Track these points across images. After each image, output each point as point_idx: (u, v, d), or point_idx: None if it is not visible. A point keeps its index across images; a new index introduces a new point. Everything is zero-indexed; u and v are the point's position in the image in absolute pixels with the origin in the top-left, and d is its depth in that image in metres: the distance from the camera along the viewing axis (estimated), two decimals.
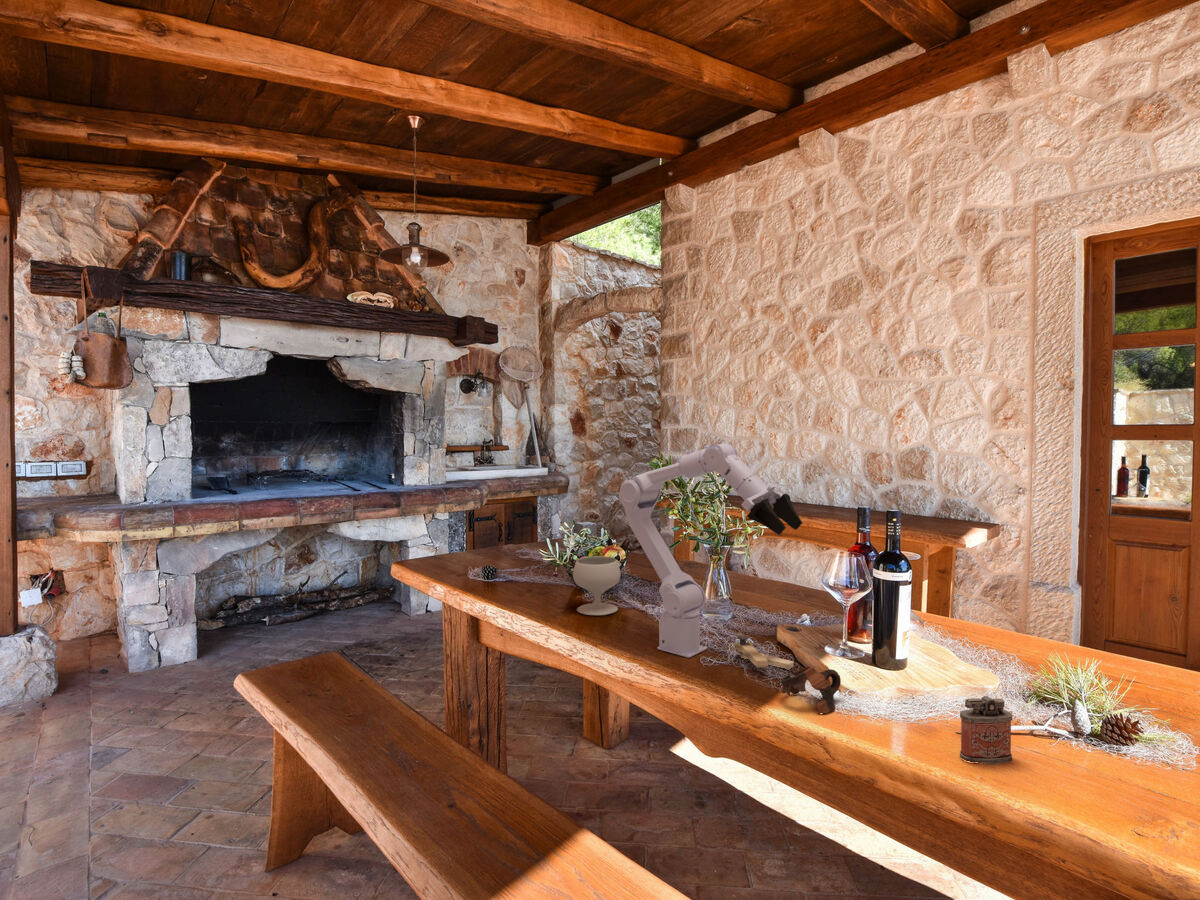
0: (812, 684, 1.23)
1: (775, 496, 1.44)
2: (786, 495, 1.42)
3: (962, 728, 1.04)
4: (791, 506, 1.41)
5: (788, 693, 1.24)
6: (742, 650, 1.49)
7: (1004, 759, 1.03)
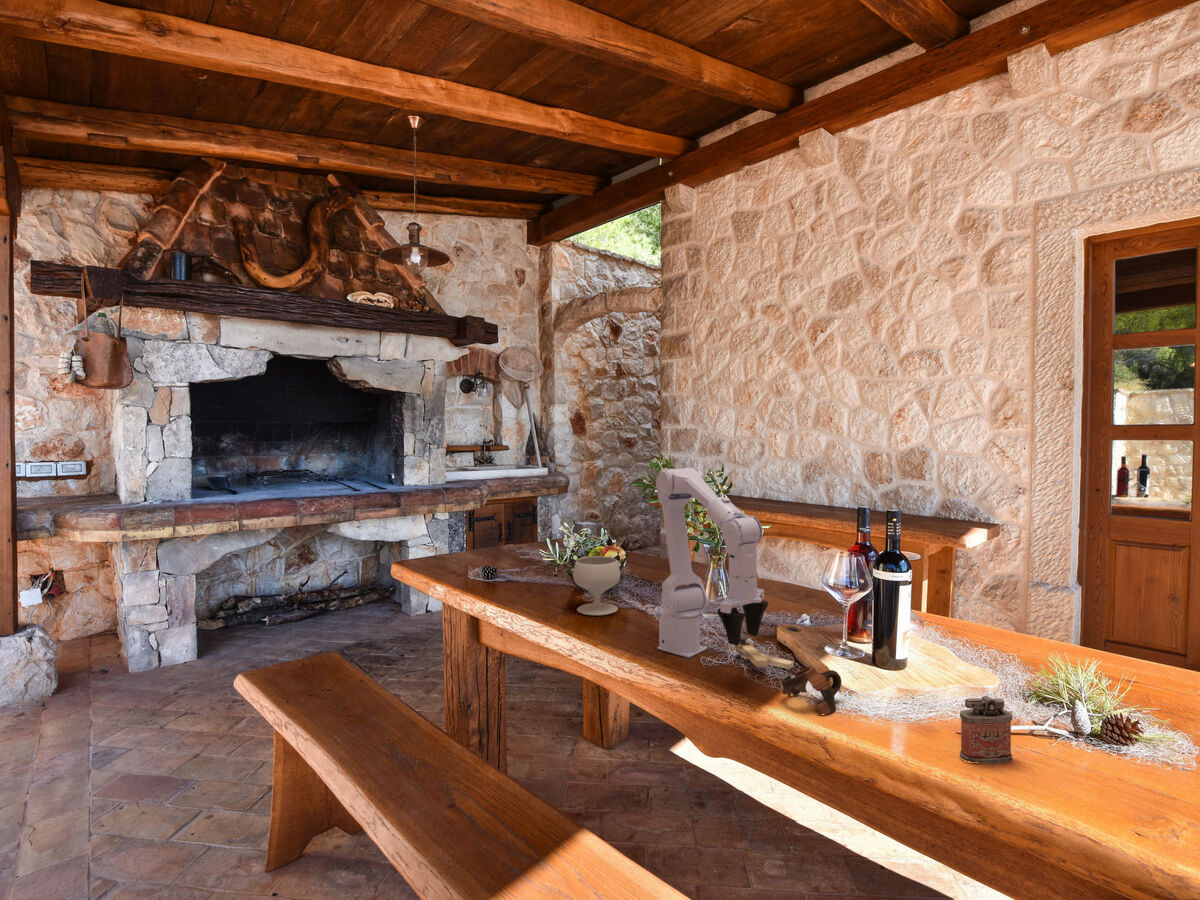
0: (813, 685, 1.22)
1: None
2: (765, 605, 1.37)
3: (962, 728, 1.04)
4: (761, 616, 1.38)
5: (789, 694, 1.24)
6: (742, 650, 1.49)
7: (1004, 759, 1.03)
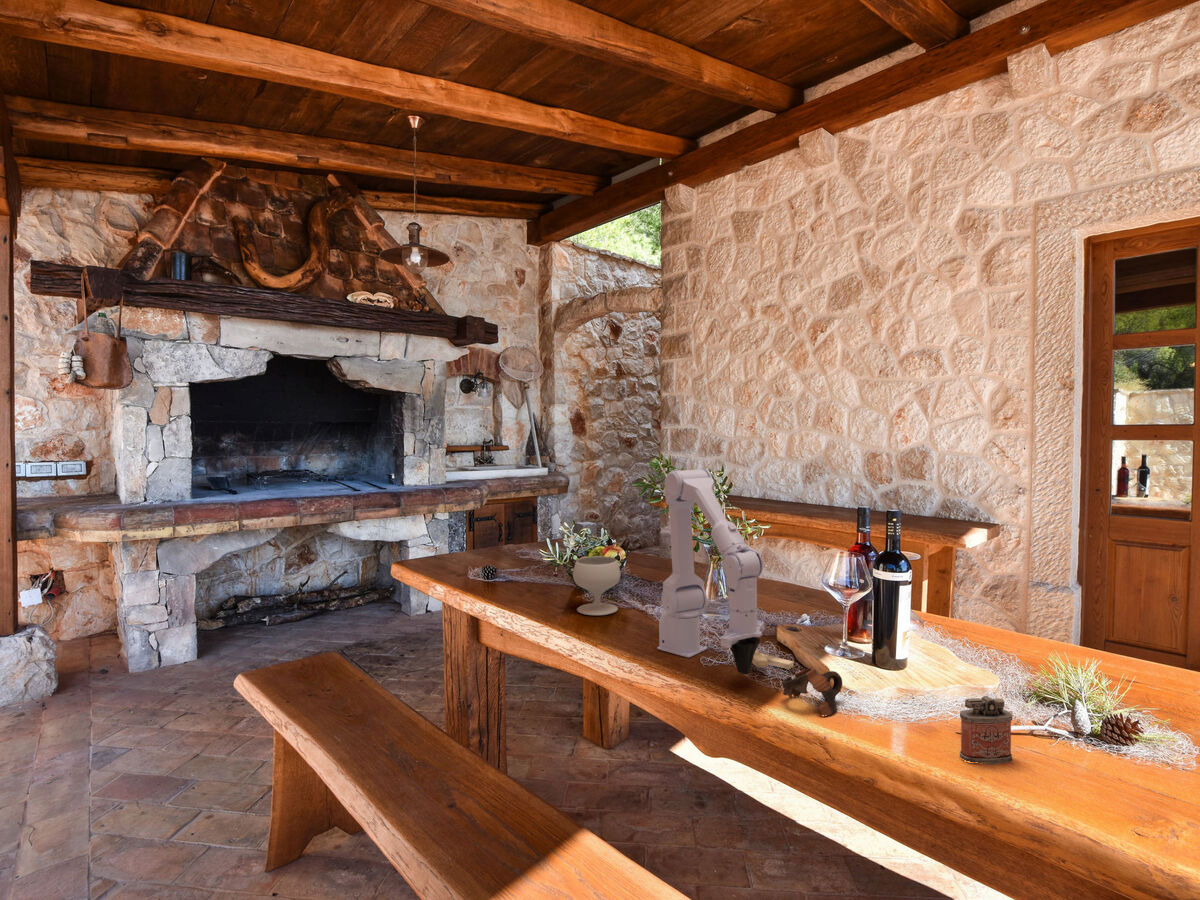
0: (814, 686, 1.22)
1: None
2: (757, 642, 1.35)
3: (962, 728, 1.04)
4: (753, 653, 1.36)
5: (790, 695, 1.23)
6: None
7: (1004, 759, 1.03)
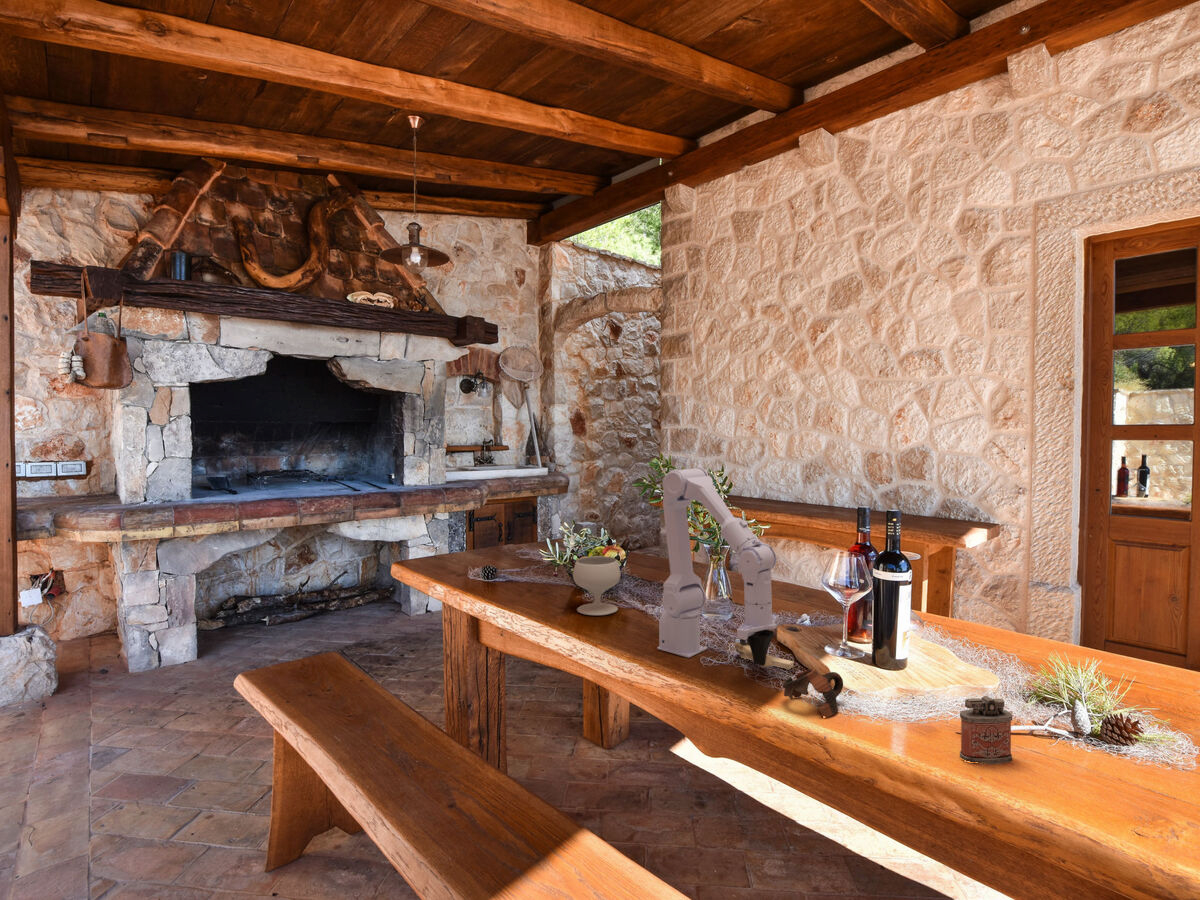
0: (815, 687, 1.21)
1: None
2: (771, 635, 1.38)
3: (962, 728, 1.04)
4: (767, 646, 1.39)
5: (790, 696, 1.23)
6: (743, 650, 1.48)
7: (1004, 759, 1.03)
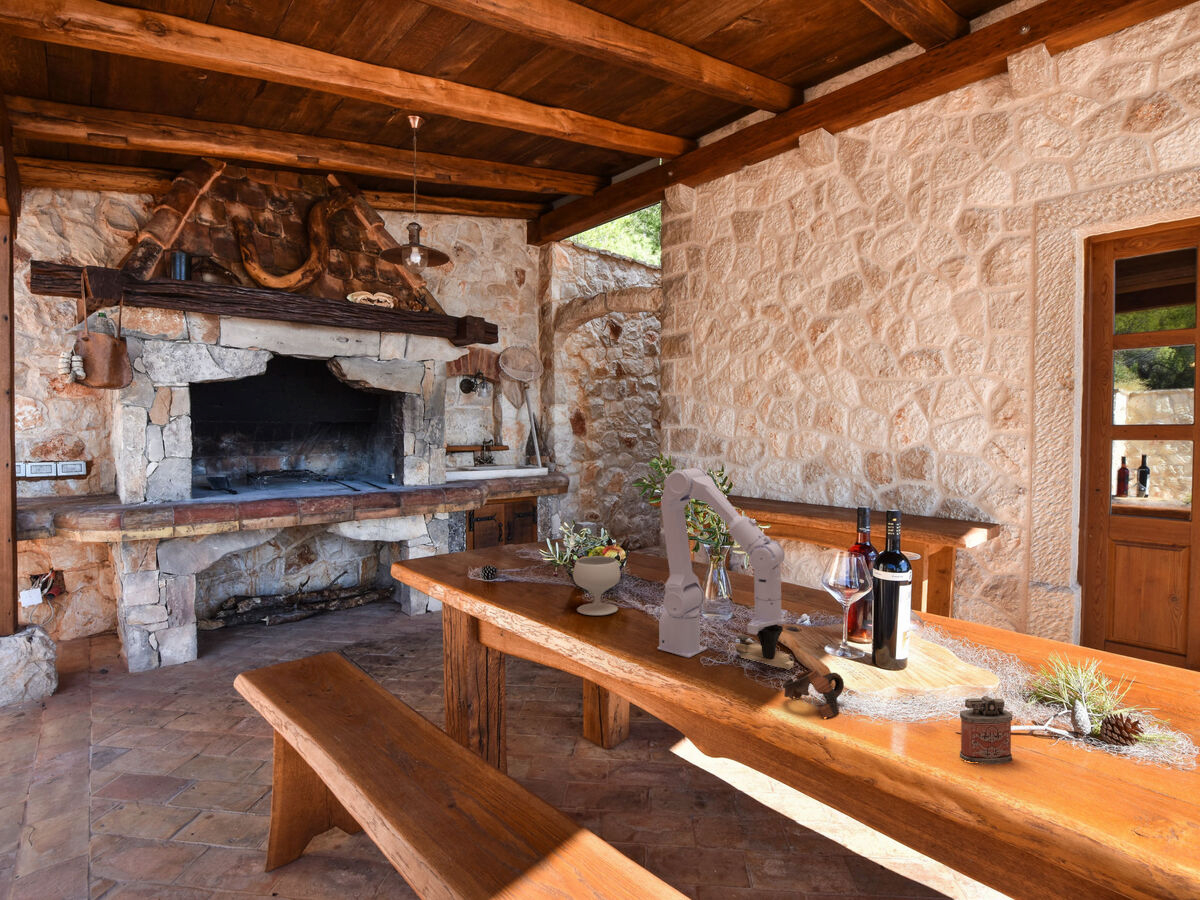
0: (815, 688, 1.21)
1: None
2: (780, 630, 1.42)
3: (962, 728, 1.04)
4: (776, 640, 1.42)
5: (791, 697, 1.22)
6: (749, 650, 1.49)
7: (1004, 759, 1.03)
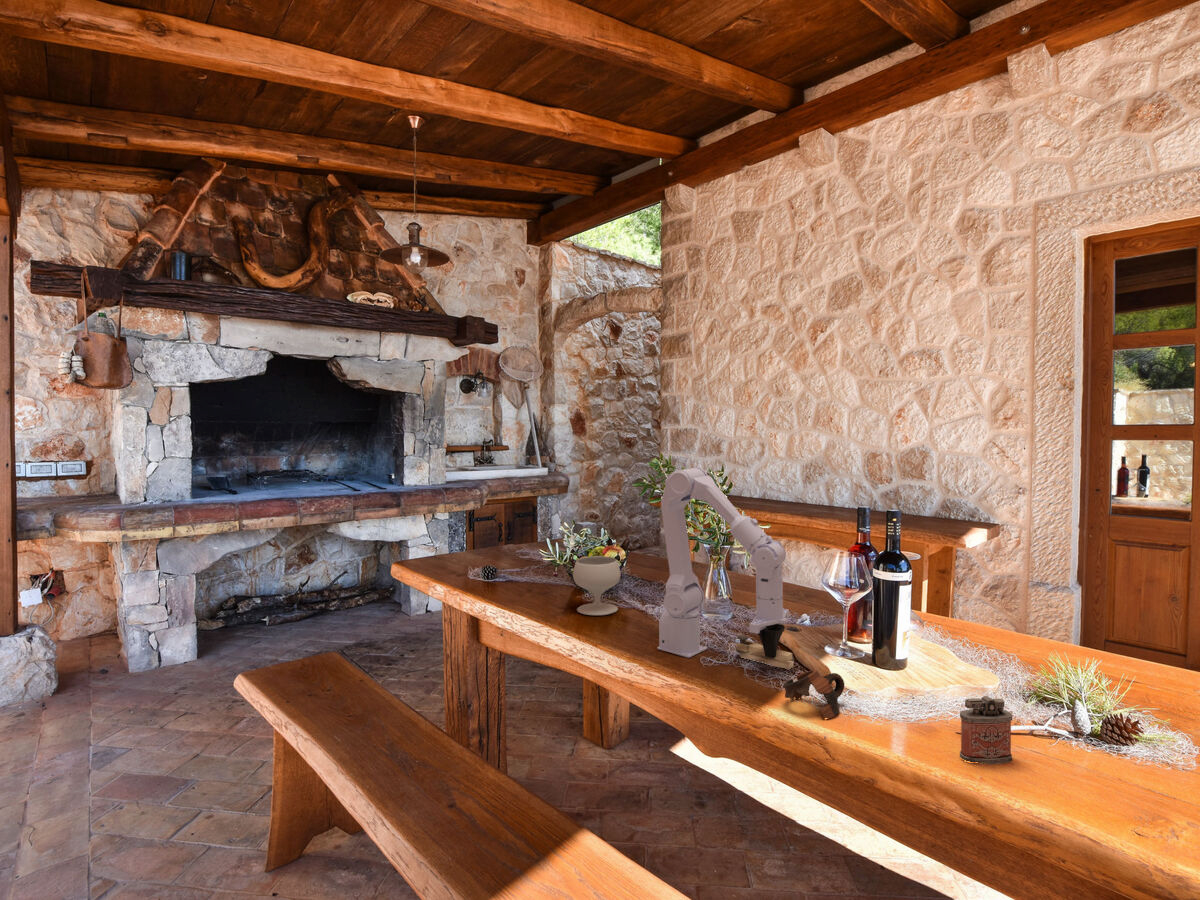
0: (816, 688, 1.21)
1: None
2: (782, 629, 1.43)
3: (962, 728, 1.04)
4: (778, 639, 1.43)
5: (792, 698, 1.22)
6: (751, 650, 1.49)
7: (1004, 759, 1.03)
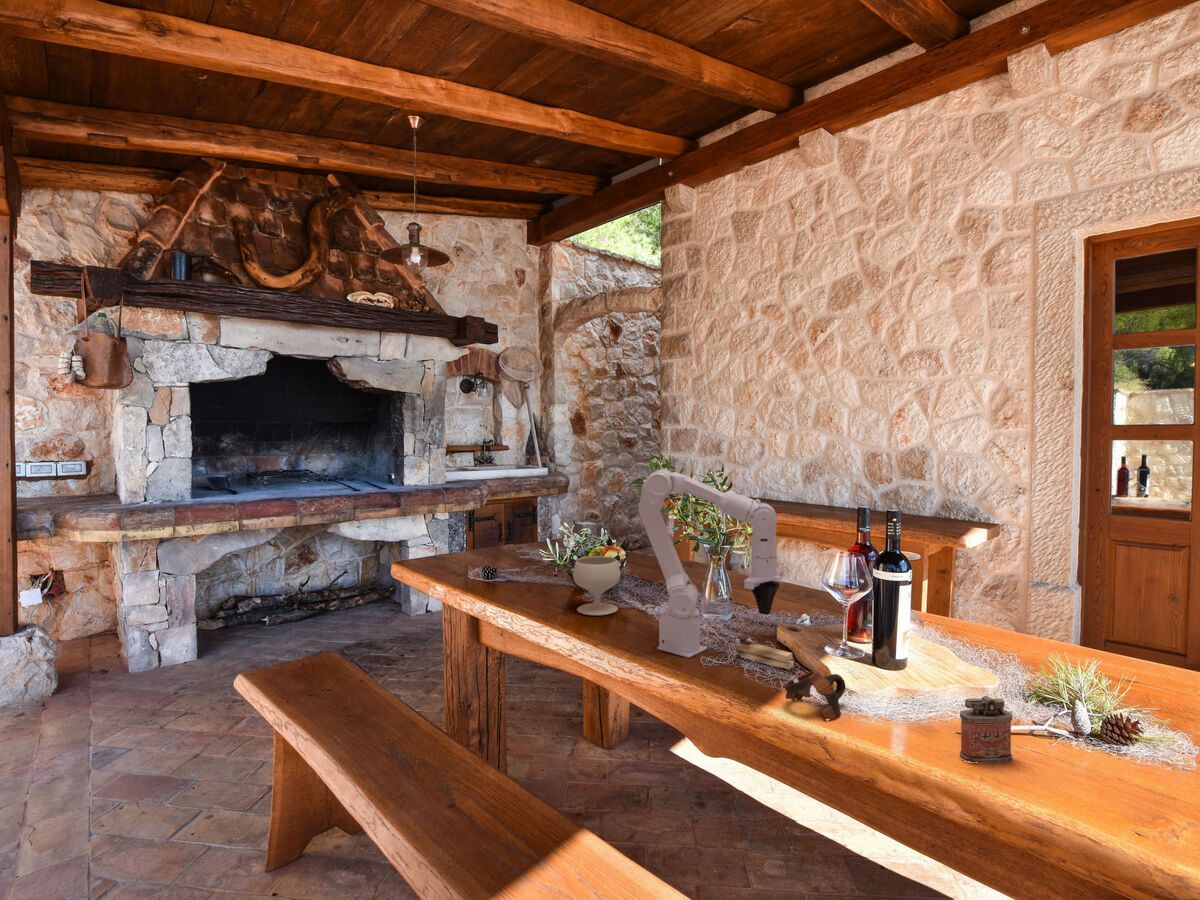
0: (817, 689, 1.20)
1: None
2: (777, 586, 1.51)
3: (962, 728, 1.04)
4: (773, 596, 1.51)
5: (793, 699, 1.22)
6: (751, 650, 1.49)
7: (1004, 759, 1.03)
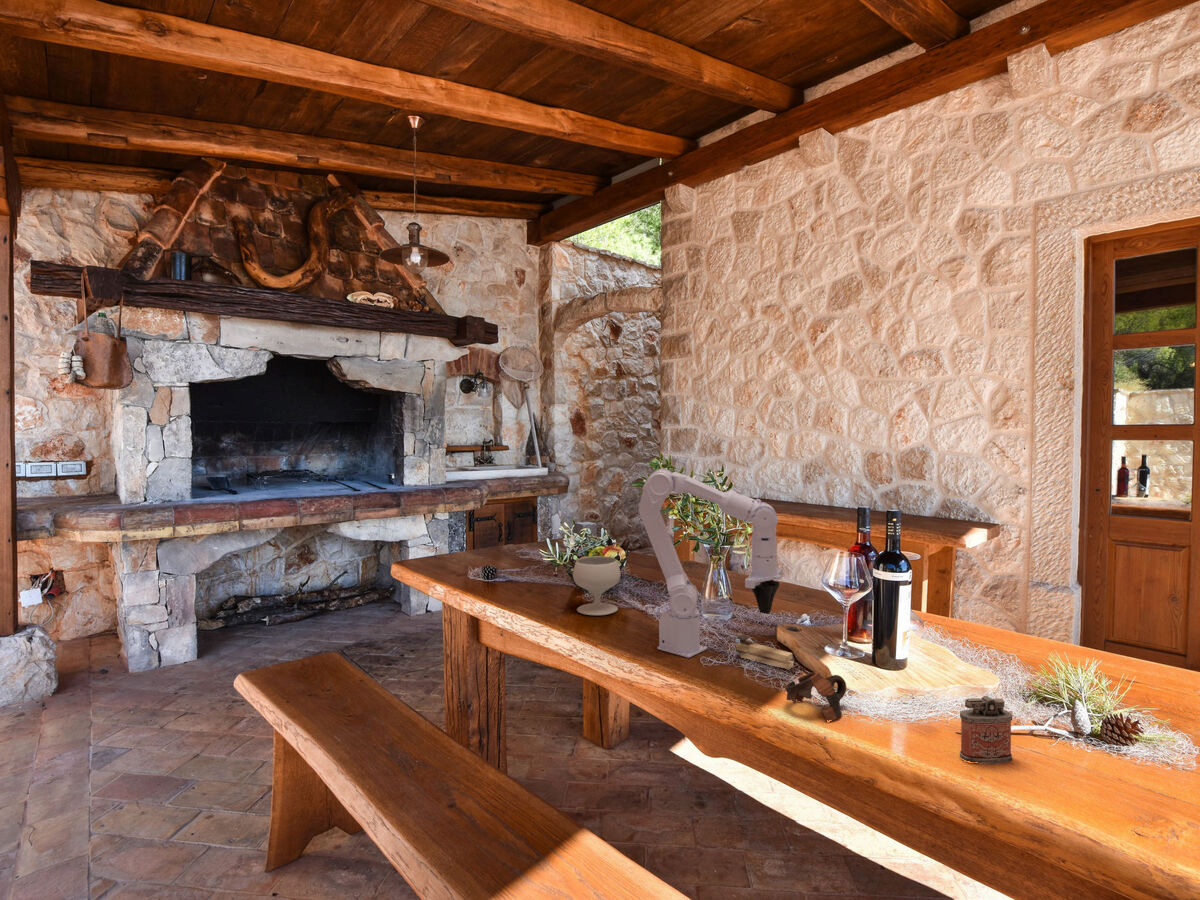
0: (818, 691, 1.20)
1: None
2: (777, 585, 1.52)
3: (962, 728, 1.04)
4: (773, 595, 1.52)
5: (794, 700, 1.21)
6: (751, 650, 1.49)
7: (1004, 759, 1.03)
